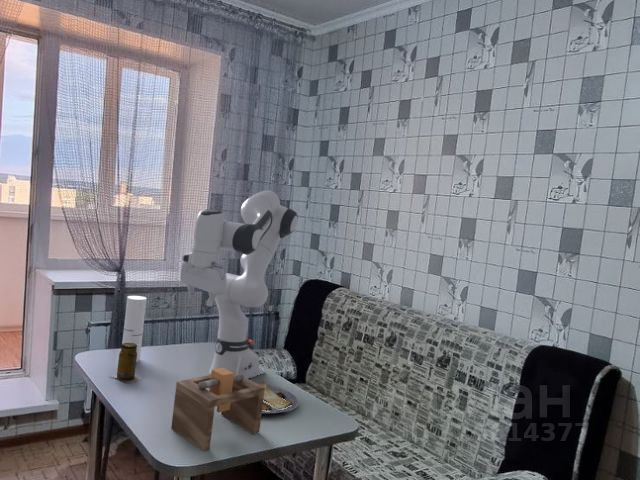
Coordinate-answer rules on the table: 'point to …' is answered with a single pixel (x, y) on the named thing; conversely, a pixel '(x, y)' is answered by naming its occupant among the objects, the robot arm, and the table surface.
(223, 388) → the orange forked block
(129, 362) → the condiment
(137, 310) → the cylindrical container
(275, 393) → the food plate
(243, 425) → the wooden slider frame
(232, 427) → the table surface
